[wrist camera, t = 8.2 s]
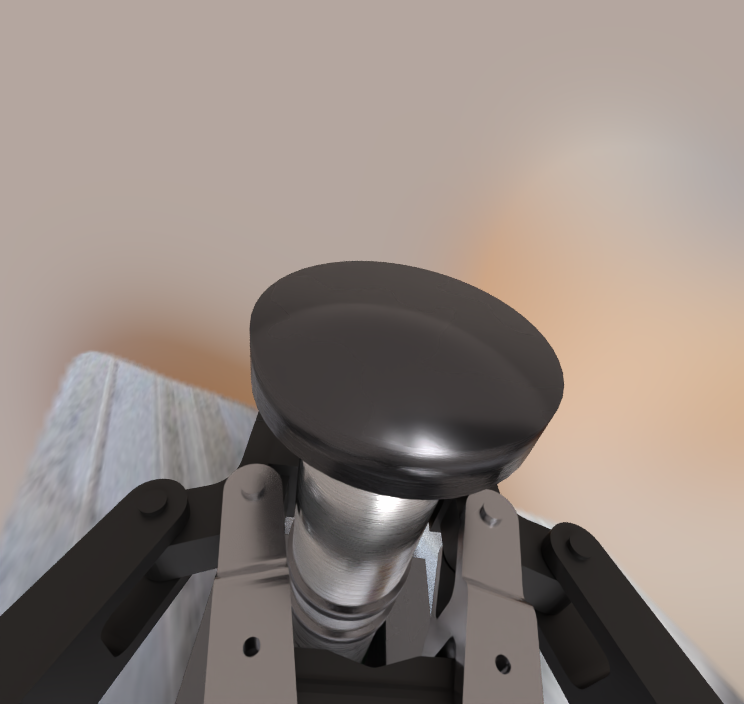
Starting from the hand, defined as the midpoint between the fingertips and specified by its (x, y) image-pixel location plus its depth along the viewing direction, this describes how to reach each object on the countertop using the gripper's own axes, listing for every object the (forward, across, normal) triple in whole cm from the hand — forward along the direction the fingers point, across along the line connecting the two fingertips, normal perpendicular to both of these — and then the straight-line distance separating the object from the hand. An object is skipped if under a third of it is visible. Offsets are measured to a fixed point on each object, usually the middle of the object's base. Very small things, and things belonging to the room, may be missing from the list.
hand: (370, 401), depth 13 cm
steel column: (-3, 0, +16) cm, 17 cm away
